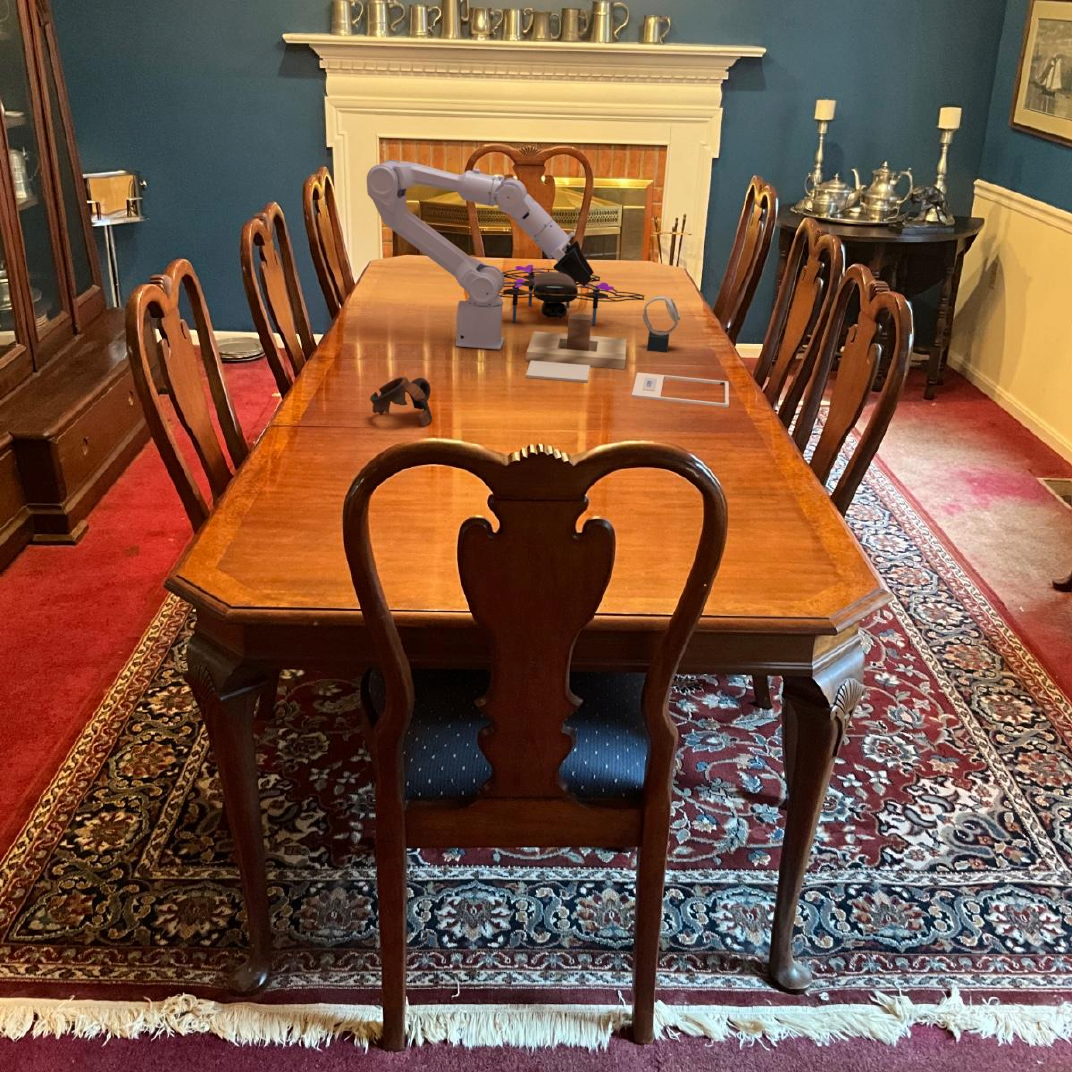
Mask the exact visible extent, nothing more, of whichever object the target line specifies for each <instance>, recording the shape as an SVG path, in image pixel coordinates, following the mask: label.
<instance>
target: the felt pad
mask: <svg viewBox="0 0 1072 1072" xmlns="http://www.w3.org/2000/svg"><path fill="white" fill-rule="evenodd" d="M590 369H591V366H590V365H579V364H567V363H555V362H542V361H529V365H528V368H527V371H526V374H525V378H527V379H539V380H552V381H561V382H562V381H563V382H564V381H565V382H575V383H588V382H589V375H590Z"/></svg>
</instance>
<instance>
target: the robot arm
mask: <svg viewBox="0 0 1072 1072" xmlns="http://www.w3.org/2000/svg"><path fill="white" fill-rule="evenodd" d="M417 185H420V186H425V187H430V188H431V187H432V188H435V189H441V190H446V191H447V190H448V191H452V192H456V193H457V194H458V195H459V197H460V199H462V200H463V201H467V202H471V203H475V204H479V205H484V206H489V207H494V206H497V208H498V210H499V211H500V212H502V213H504V214H509V216H510V217H511V218H512V219H514V221H515V222H516V224H517V225H518V226H519V228H521V229H522V231H524V232H525V233H526V234H527V236H528V237H529V238H530V239H531V240H532V241H533V242H534V243H535V244H536V245H537V247H539V249H540V250H541V251H542V252H544V254H545V255H546V256H547V259H548V260H551V259H553V258H554V259H555V260H556V263H555V264H554V265H553V267H552V269H555V270H554V271H556V270H557V271H556V272H558V271H560V272H563V273H565V274H567V275H568V276H570V277H571V278H573V279H574V280H575V281H577V282H576V283H580V284H579V285H580V286H587V285H586V284H588V283H591V282H590V281H591V280H593V279H592V278H591V275H594V273H595V272H594V270H593V268H592V267H591V265H590V263H589V262H588V261H587V259H586V257H585V255H584V253H583V251H582V249H581V245H580V242H579V241H578V240H577V239H576V240H575V241H574V242H573V243H572V244H571V243H570V241H571V239H572V238H573V237H574V235H575V233H574V231H571V232H570V233H569V234H567V233H566V232H565V231H564V229H562V227H560V225H559V224H558V223H557V222H556V221H555V220H554V219H553V218H552V216H550V214H549V213H548V212H546V210H545V209H544V208H543V207H542V206H541V205H540V204H539V203H538V202H537V201H536V200H535V199H534V198H533V197H532V196H531V195H530V194H529V193H528V192H527V188H526V185H525V184H524V183H523V182H522V181H521V180H519V179H517V178H515V177H509V178H506V179H505V176H504V175H502V174H501V175H500V174H499V175H498V176H494V175H490V174H485V173H482V172H481V169H480V168H479V169H478V168H474V169H472V170H470V169H469V170H466V171H465V172H463V173H462V174H461V175H460V174H457V173H453V172H449V171H445V170H442V169H439V168H435V167H432V166H431V167H430V166H427V165H425V164H424V165H423V164H420V163H416V162H411V161H399V160H396V159H389V160H385V161H383V162H382V163H380V164H375V165H373V166H372V167H371V168H370V169H369V171H368V172H367V175H366V191H367V196H368V197H369V198H370V199H371V200H372V202H373V204H374V206H375V208H376V210H377V212H378V214H379V216H380V219H381V220H382V222H383V224H385V226H387V227H388V228H390V230H392V231H393V232H395V233H396V234H397V235H398V236H400V237H401V238H403V239H404V240H406V241H407V242H408V243H410V244H411V245H412V246H413V247H414V248H416V249H417V250H418V251H420V252H421V253H423V254H424V255H425V256H427V257H428V258H429V259H431V260H432V261H433V262H435V263H436V264H437V265H439V267H441V268H443V269H444V270H446V271H447V272H448V273H449V274H450V275H452V276H454V278H455V279H456V281H457V283H458V285H459V287H461V288H463V290H464V291H465V292H466V293H467V294H468V298H467V300H459V301H458V304H457V309H456V328H455V329H456V330H455V337H456V339H455V347H461V348H462V347H464V348H474V349H475V348H476V349H486V350H501V349H502V347H503V345H504V343H505V339H506V338H504V337H502V325H503V324H502V322H503V306H504V305H503V303H504V302H503V301H504V300H503V299H502V297H500V295H501V294H500V293H499V292H502V290H503V289H504V287H503V286H505V285H504V282H505V277H504V276H503V275H504V274H502V272H503V271H501V269H499V268H498V267H497V266H494V265H489V264H486V263H484V262H482V260H480V259H478V258H476V257H475V258H474V257H471V256H470V255H468V254H467V253H465V252H464V251H463V250H462V249H460V248H459V247H458V246H456V245H455V244H454V243H452V242H451V241H449V240H448V239H447V238H446V237H445V236H444V235H441V234H440V233H439V232H437V230H435V229H434V228H433V227H432V226H430V225H428V224H427V223H426V222H424V221H423V220H421V218H419V217H418V216H417V215H415V214H414V213H413V212H411V211H410V210H409V209H408V204H407V202H408V201H407V195H406V192H407V189H408V188H411V187H413V186H417Z"/></svg>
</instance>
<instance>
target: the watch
mask: <svg viewBox="0 0 1072 1072" xmlns="http://www.w3.org/2000/svg"><path fill="white" fill-rule="evenodd" d="M656 301H664V303H665V306H666V309H667V311H668V315H669V317H670V318H671V320H672V321H673V322H674V325H673V326H672V327H671V328H669V329H668V330H656V329H654V328H653V325H652V323H650V320H649V317H648V314H647V311H648V310H647V308H648V306H649V305H650V304H652V303H653V302H656ZM642 318H643V322H644V324H645V327H646V329H647V331H648V338H647V347H646V351H651V352H659V353H660V352H661V353H668V348H669V343H670V334H671V333H673V332H674V331H675V330H676V328H677V327H678V324H679V323H678V322H679V321H681V316H680V313H679V311H678V308H677V305H676V304H675V302H674V300H673V299H672V298H669V297H667V296H665V295H664V296H663V295H659V296H655V297H652V298H651V299H649V300H648V301H647V303H645V306H644V309H643V312H642Z"/></svg>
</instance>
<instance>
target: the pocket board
mask: <svg viewBox="0 0 1072 1072" xmlns="http://www.w3.org/2000/svg"><path fill="white" fill-rule="evenodd" d="M567 336H568V333H559V332H558V333H557V332H547V331H546V332H545V331H537V330H536V331H535V330H534V331H533V333H532V335H531V338H530V341H529V344H528V347H527V350H526V356H525V357H526V358H525V359H526V360H525V361H526V362H530V361H542V362H555V363H567V364H579V365H590V367H594V368H595V367H596V368H606V369H618V370H619V369H620V370H625V369H626V358H627V355H626V354H627V338H621V337H611V336H597V335H596V336H595V335H590V341H589V351H581V350H569V349H567ZM560 347H562V348H560Z"/></svg>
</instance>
